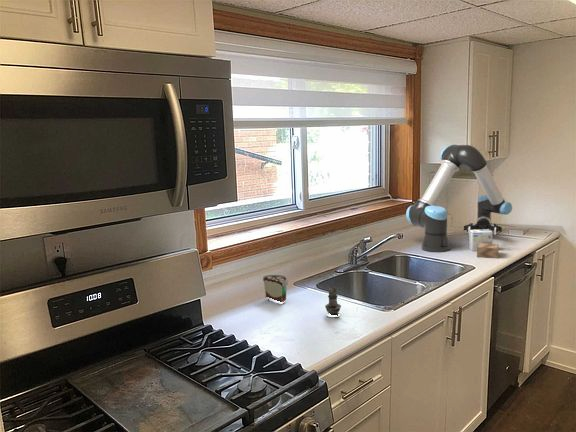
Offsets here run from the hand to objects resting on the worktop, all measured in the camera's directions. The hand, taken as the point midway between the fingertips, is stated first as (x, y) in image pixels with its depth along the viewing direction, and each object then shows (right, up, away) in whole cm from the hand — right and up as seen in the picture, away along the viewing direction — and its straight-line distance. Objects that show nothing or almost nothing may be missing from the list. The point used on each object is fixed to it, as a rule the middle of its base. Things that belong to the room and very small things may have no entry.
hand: (481, 231), depth 262 cm
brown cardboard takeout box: (-5, -12, -19) cm, 23 cm away
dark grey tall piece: (-92, -28, -88) cm, 131 cm away
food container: (-112, -26, -70) cm, 135 cm away
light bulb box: (-4, -10, -7) cm, 13 cm away
